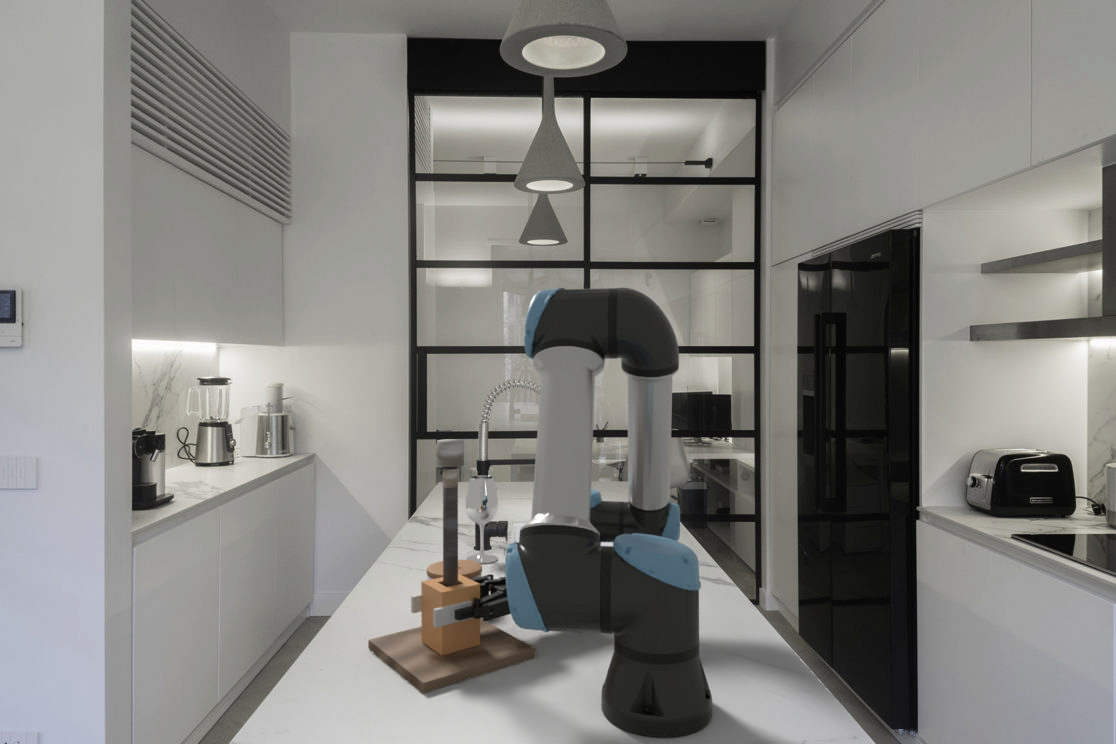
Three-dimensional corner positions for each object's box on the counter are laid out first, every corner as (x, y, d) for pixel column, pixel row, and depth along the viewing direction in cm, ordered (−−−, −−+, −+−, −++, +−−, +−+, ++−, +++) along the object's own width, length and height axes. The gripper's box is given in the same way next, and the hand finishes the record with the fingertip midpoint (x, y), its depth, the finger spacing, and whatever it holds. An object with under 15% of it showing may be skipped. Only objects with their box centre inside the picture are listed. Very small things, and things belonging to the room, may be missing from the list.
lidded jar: (472, 618, 132) (471, 568, 132) (418, 614, 134) (418, 564, 134) (488, 599, 143) (488, 552, 143) (438, 595, 145) (438, 550, 145)
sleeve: (480, 644, 116) (480, 584, 115) (441, 655, 111) (441, 592, 111) (458, 631, 121) (458, 573, 121) (421, 641, 117) (421, 581, 117)
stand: (535, 657, 114) (535, 442, 114) (423, 693, 102) (422, 451, 102) (472, 621, 130) (471, 432, 130) (368, 648, 118) (367, 439, 117)
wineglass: (504, 558, 172) (504, 476, 172) (484, 566, 166) (484, 481, 165) (479, 553, 176) (479, 473, 176) (458, 561, 170) (458, 478, 169)
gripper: (573, 620, 119) (453, 655, 105) (508, 590, 135) (396, 616, 121) (573, 576, 119) (453, 605, 105) (508, 551, 135) (396, 573, 121)
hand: (423, 611), depth 113 cm, fingers closed on sleeve, 7 cm apart
